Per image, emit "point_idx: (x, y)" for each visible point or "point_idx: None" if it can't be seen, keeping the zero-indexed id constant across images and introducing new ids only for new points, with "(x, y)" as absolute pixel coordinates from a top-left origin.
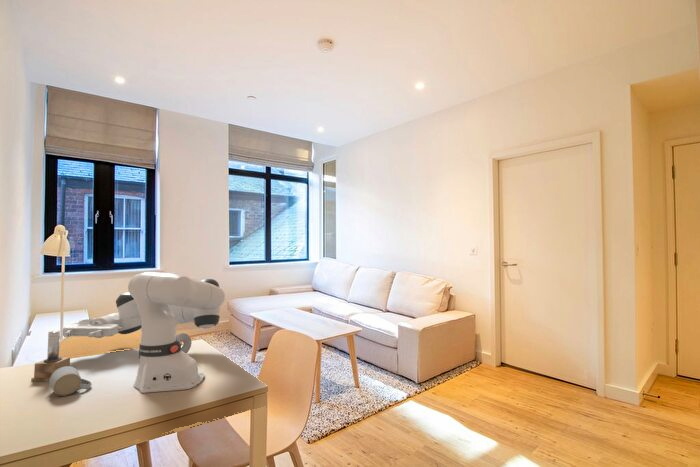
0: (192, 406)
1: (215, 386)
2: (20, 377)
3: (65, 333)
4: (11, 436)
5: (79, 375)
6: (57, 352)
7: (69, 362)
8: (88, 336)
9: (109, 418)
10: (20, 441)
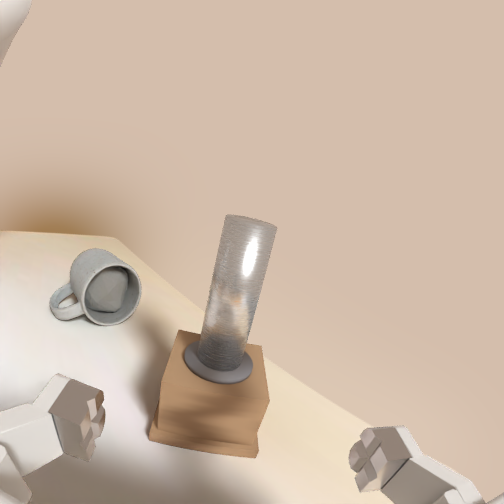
0: None
1: None
2: (325, 426)
3: (391, 427)
4: (125, 249)
5: (74, 263)
6: (203, 323)
7: (160, 400)
8: (103, 414)
9: (32, 240)
10: (111, 243)
